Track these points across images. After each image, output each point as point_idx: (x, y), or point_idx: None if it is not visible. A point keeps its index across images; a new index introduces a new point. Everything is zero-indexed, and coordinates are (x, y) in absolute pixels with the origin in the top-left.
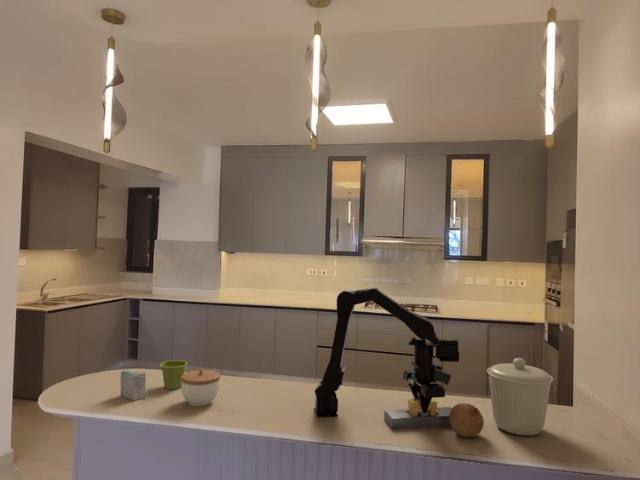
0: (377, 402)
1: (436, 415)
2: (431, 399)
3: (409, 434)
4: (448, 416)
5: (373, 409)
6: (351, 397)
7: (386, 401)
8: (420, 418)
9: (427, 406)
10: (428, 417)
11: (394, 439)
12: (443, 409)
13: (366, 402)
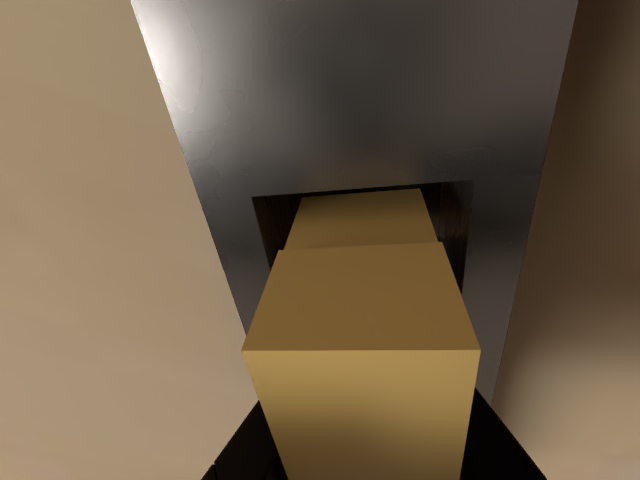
0: (50, 405)
1: (487, 232)
2: (319, 391)
3: (558, 400)
4: (566, 39)
5: (170, 441)
6: (38, 468)
7: (5, 365)
8: (491, 381)
9: (502, 436)
10: (504, 324)
11: (590, 467)
12: (246, 25)
13: (77, 441)
